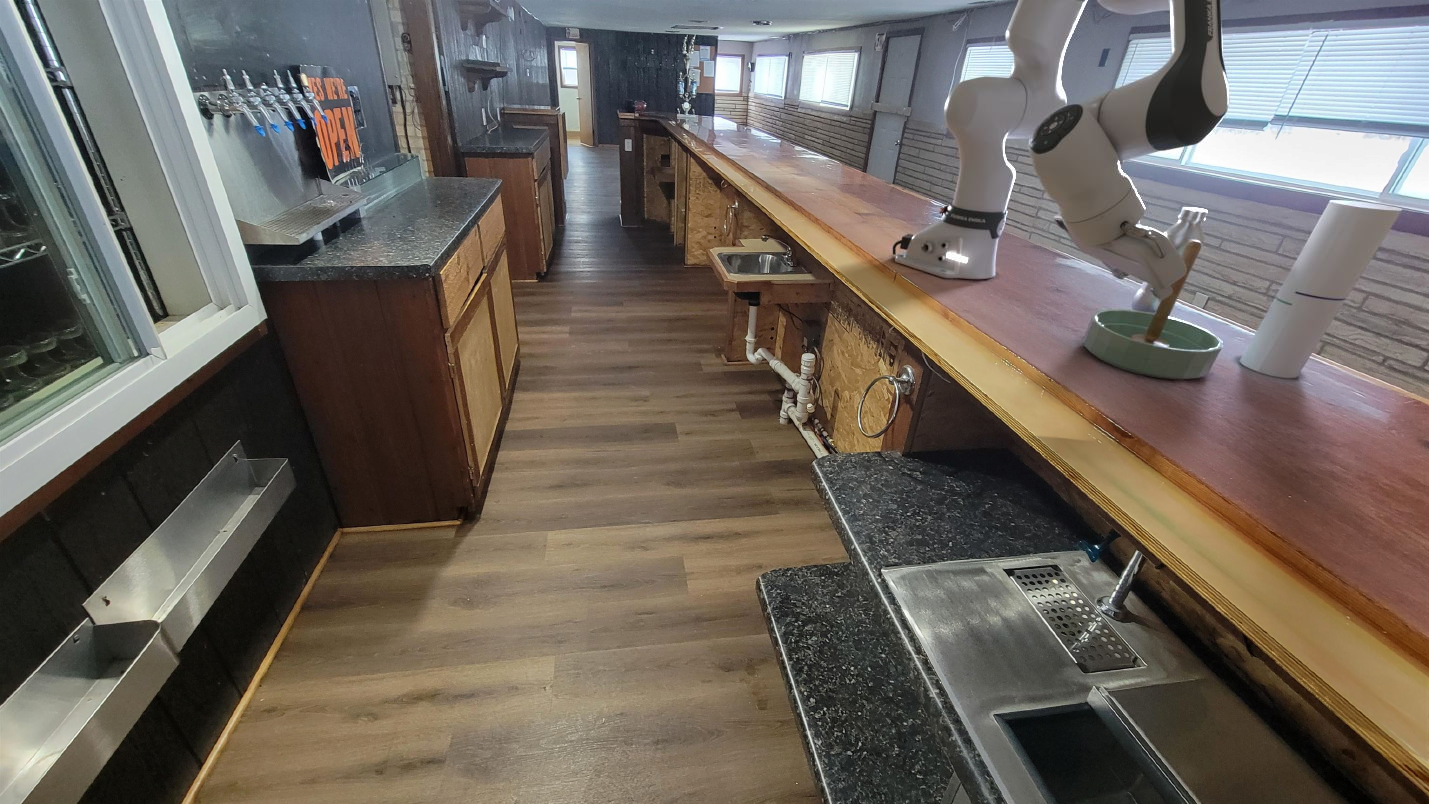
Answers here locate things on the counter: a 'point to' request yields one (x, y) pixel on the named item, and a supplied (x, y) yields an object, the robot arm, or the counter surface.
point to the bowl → (1151, 345)
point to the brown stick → (1169, 300)
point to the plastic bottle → (1179, 237)
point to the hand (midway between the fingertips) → (1142, 285)
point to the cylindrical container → (1318, 285)
